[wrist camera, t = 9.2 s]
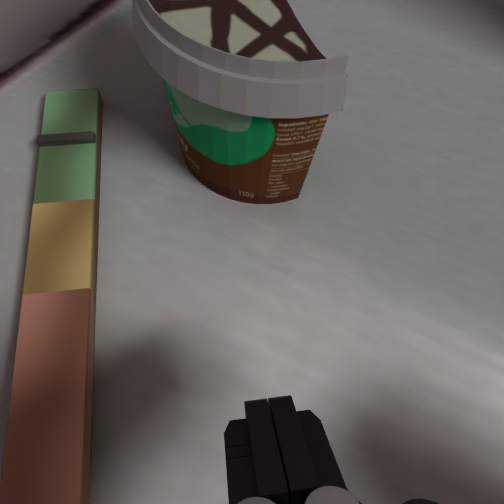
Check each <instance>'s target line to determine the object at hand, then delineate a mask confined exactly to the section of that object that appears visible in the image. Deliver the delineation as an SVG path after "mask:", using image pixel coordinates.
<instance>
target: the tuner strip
mask: <svg viewBox="0 0 504 504" xmlns="http://www.w3.org/2000/svg"><path fill="white" fill-rule="evenodd" d="M102 112H103V101H102V98H101V96H100V93H99V90H98V88H92V89H76V90H61V91H46V98H45V106H44V115H43V123H42V132H41V135H38V136H37V143H38V145H39V147H40V149H39V158H38V166H37V175H36V183H35V192H34V201H33V209H32V218H31V226H30V235H29V243H28V252H27V261H26V269H25V278H24V286H23V295H22V304H21V312H20V321H19V329H18V338H17V346H16V355H15V364H14V372H13V381H12V389H11V398H10V406H9V415H8V424H7V432H6V441H5V449H4V458H3V467H2V475H1V484H0V504H89V486H90V458H91V429H92V400H93V371H94V342H95V314H96V285H97V256H98V227H99V199H100V170H101V141H102Z"/></svg>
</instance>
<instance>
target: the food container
mask: <svg viewBox="0 0 504 504" xmlns="http://www.w3.org/2000/svg"><path fill="white" fill-rule="evenodd" d="M132 19H133V30H134V35H135V38H136V41H137V44H138V47H139V49H140V51H141V52H142V54H143V56H144V57H145V59H146V60H147V62H148V63H149V65H150V66H151V67H152V68H153V69H154V70H155V71H156V72H157V73H158V74H159V75H160V76H161V77H162V80H163V84H164V87H165V91H166V95H167V98H168V102H169V105H170V109H171V113H172V116H173V120H174V124H175V127H176V131H177V135H178V138H179V142H180V145H181V149H182V153H183V156H184V159H185V162H186V164H187V166H188V167H189V169H190V171H191V172H192V173H193V175H194V176H195V177H196V178H197V179H198V180H199V181H200V182H201V183H202V184H204V185H205V186H206V187H207V188H209V189H210V190H212V191H214V192H216V193H217V194H219V195H222V196H224V197H227V198H229V199H232V200H236V201H240V202H244V203H253V204H273V203H280V202H286V201H289V200H293V199H296V198H298V197H299V194H300V192H301V189H302V186H303V183H304V181H305V178H306V175H307V172H308V170H309V167H310V164H311V161H312V159H313V156H314V153H315V150H316V148H317V145H318V142H319V140H320V137H321V134H322V131H323V129H324V126H325V123H326V120H327V118H328V115H329V114H330V113H334V112H338V111H342V110H343V105H344V98H345V91H346V84H347V77H348V76H347V75H346V73H345V68H346V63H347V59H348V55H342V56H337V57H332V58H328V59H327V58H325V57H324V56H323V55H322V54H321V53H320V51H319V50H318V49H317V48H316V47H315V45H314V44H313V42H312V41H311V39H310V38H309V37H308V35H307V34H306V32H305V31H304V29H303V28H302V26H301V25H300V23H299V21H298V20H297V18H296V16H295V15H294V13H293V11H292V9H291V7H290V6H289V4H288V2H287V0H133V12H132Z"/></svg>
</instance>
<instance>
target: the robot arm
mask: <svg viewBox="0 0 504 504" xmlns="http://www.w3.org/2000/svg"><path fill="white" fill-rule="evenodd" d="M244 403H245V415H246V419H238V420H231V421H229V424H228V426H227V428H226V430H225V432H224V440H225V454H226V468H227V482H228V496H229V504H362V503H360V502H359V501H357V499H356V498H355V497H354V496H353V495H352V494H351V493H350V492H349V491H348V490H347V488H346V485H345V483H344V480H343V478H342V475H341V472H340V470H339V467H338V465H337V462H336V459H335V457H334V454H333V452H332V449H331V446H330V444H329V441H328V439H327V436H326V434H325V431H324V428H323V426H322V423H321V420H320V419H319V418H318V417H317V416H316V415H315V414H313V413H312V412H311V411H310V410H304V411H297V412H296V409H295V406H294V403H293V400H292V397H291V395H289V396H281V397H274V398H268V401H267V399H259V400H252V401H244ZM403 504H438V503H436V502H433V501H430V500H426V499H412V500H409V501H406V502H405V503H403Z"/></svg>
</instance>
